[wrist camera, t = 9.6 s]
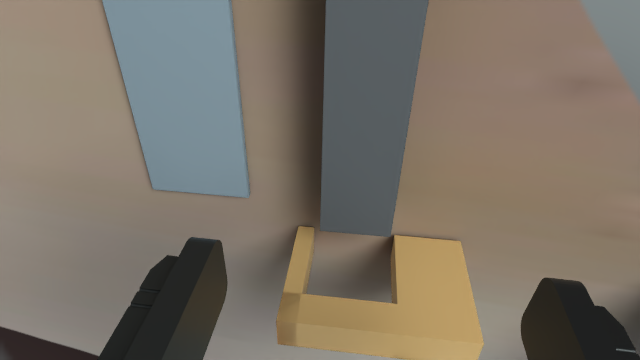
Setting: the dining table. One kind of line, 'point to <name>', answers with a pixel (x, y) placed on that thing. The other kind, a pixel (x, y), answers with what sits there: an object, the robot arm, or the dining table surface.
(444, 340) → the yellow bent bar
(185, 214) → the dining table surface
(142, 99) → the light blue panel
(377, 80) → the dark gray rectangular block
